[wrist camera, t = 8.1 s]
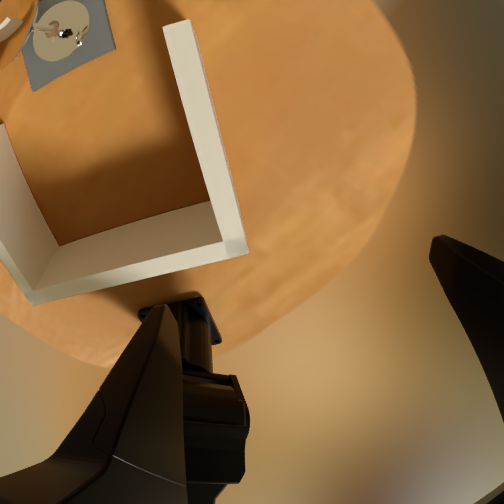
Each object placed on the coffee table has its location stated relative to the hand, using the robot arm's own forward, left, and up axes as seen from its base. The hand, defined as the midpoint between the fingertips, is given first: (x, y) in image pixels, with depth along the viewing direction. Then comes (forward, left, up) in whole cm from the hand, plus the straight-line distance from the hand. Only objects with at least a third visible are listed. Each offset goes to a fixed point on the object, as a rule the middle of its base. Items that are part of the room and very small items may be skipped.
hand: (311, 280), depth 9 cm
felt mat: (+13, +10, -12) cm, 21 cm away
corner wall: (+3, +10, -12) cm, 16 cm away
